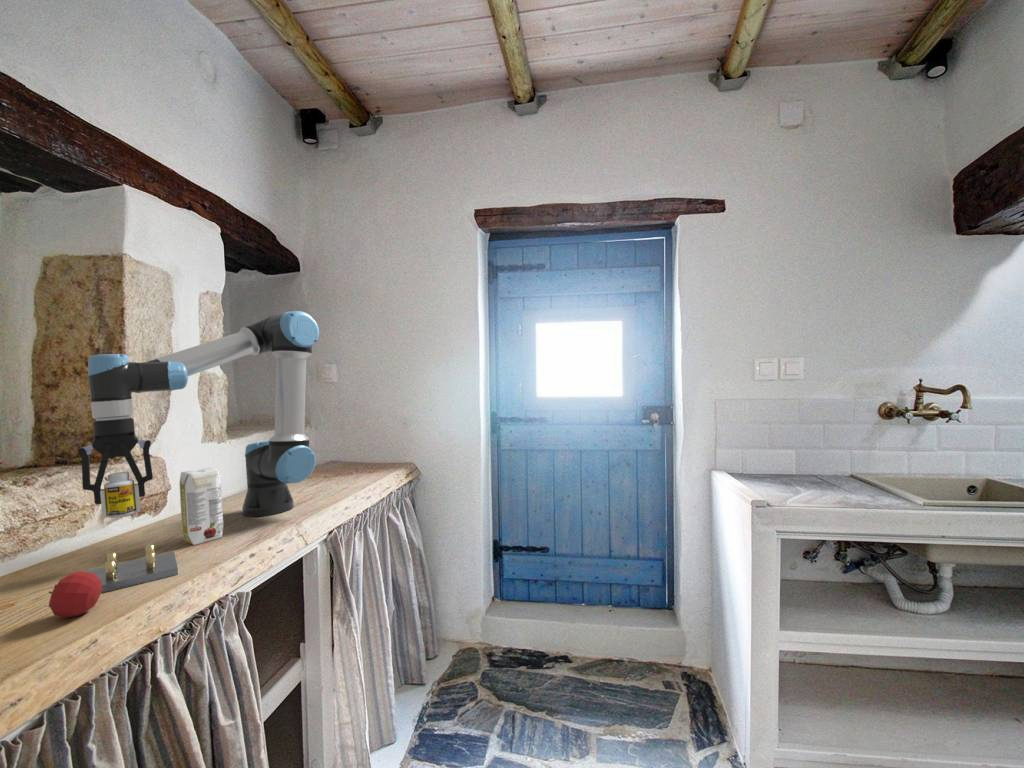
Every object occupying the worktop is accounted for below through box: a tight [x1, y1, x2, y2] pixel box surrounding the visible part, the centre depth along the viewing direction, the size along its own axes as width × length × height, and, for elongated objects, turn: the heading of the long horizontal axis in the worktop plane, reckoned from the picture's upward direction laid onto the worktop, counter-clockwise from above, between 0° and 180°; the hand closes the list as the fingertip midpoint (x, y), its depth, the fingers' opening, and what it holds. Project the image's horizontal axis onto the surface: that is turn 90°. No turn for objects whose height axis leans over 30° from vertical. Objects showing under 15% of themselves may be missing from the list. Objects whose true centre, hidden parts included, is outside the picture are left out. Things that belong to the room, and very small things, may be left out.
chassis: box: [85, 544, 179, 594], centre depth 104 cm, size 16×14×5 cm
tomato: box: [48, 570, 102, 619], centre depth 87 cm, size 8×8×8 cm
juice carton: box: [178, 467, 224, 546], centre depth 127 cm, size 8×9×19 cm
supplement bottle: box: [103, 471, 137, 519], centre depth 113 cm, size 6×6×10 cm
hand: (122, 513), depth 113 cm, fingers closed on supplement bottle, 6 cm apart
